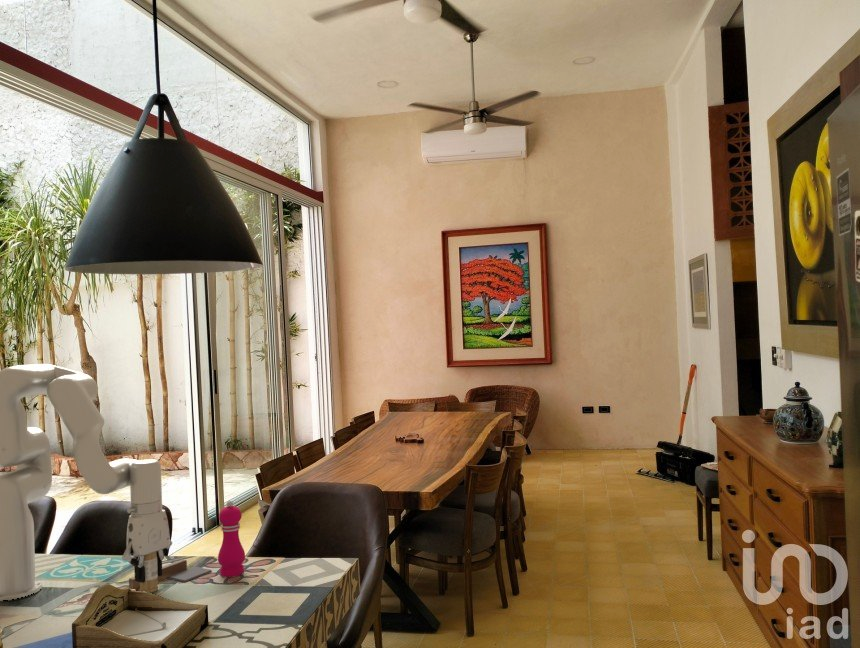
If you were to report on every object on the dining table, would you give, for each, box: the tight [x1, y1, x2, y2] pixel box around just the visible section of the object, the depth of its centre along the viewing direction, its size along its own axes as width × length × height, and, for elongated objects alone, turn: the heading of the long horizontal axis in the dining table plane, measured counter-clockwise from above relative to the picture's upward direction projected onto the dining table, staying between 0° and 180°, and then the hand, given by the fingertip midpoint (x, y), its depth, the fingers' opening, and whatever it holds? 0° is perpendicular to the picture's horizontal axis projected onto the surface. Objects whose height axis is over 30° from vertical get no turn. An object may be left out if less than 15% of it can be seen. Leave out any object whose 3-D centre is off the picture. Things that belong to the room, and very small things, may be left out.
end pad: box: [167, 566, 212, 583], centre depth 189 cm, size 7×9×1 cm
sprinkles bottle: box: [139, 552, 159, 593], centre depth 178 cm, size 5×5×13 cm
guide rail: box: [128, 559, 188, 590], centre depth 186 cm, size 2×17×3 cm, turn 149°
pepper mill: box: [217, 500, 246, 578], centre depth 189 cm, size 7×7×20 cm
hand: (148, 577), depth 178 cm, fingers closed on sprinkles bottle, 4 cm apart
